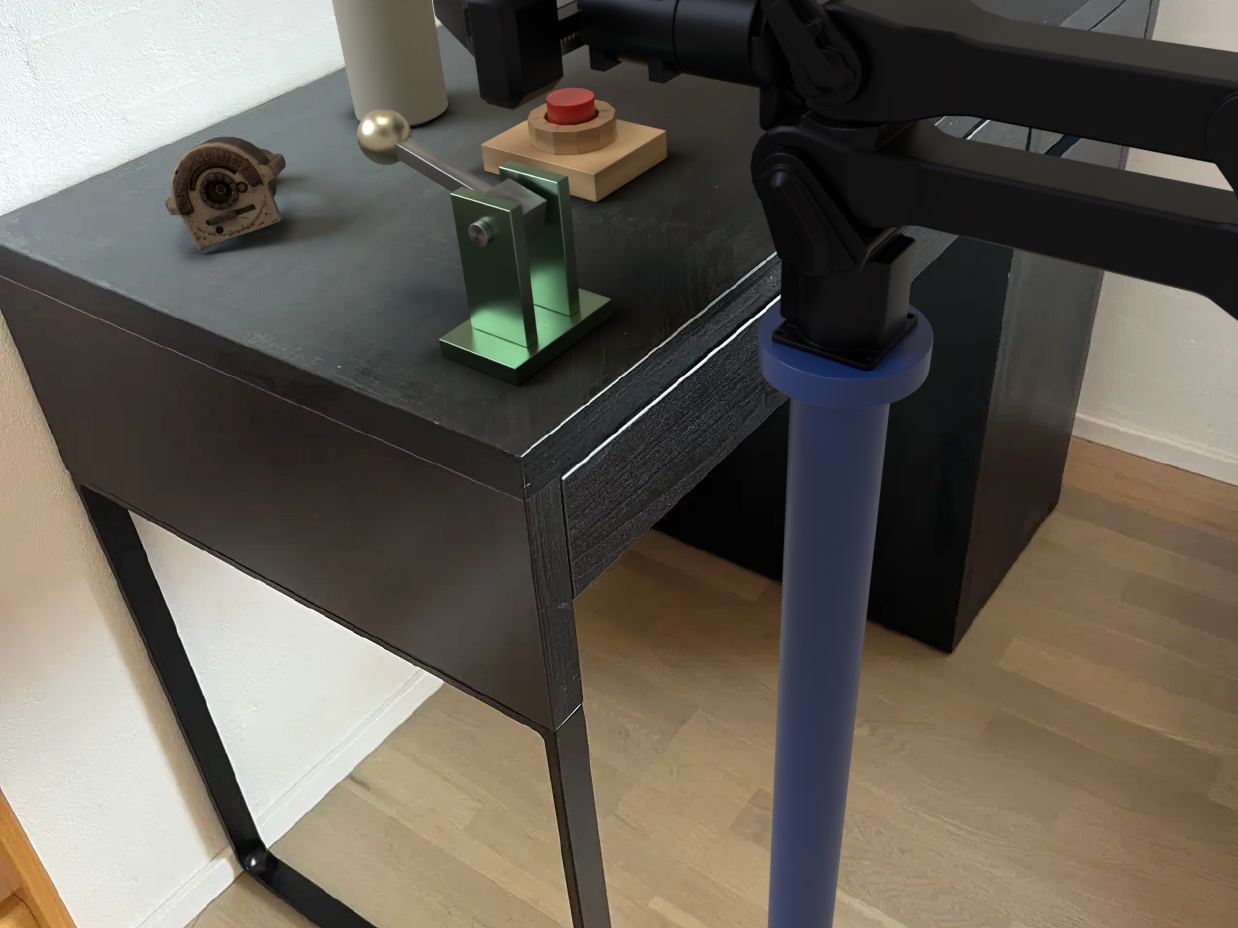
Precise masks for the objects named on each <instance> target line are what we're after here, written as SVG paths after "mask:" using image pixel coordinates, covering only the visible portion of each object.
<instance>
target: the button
mask: <svg viewBox="0 0 1238 928" xmlns="http://www.w3.org/2000/svg"><path fill="white" fill-rule="evenodd" d="M594 99H595V94H594V92H593V91H592V90H590V89H587V88H583V87H566V88H560V89H557V90H554V91H552V92H550V93H548V94H547V95H546V97H545V103H546V104H547V114H548V122H549V123H552V124H556V125H578V124H583V123H587V122H590V121H592V120H593V119H595V118H596V114H595V100H596V99H595V100H594Z"/></svg>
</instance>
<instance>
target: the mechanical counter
mask: <svg viewBox="0 0 1238 928" xmlns="http://www.w3.org/2000/svg"><path fill="white" fill-rule="evenodd" d="M286 164H287V163H286V159H285V157H284V155H283V154H282V153H274V152H271V151H270V150H268V149H265V148H262V147H261V148H260V147H258V146H256V145H255V144H253V143H252V142H250V141H247V140H245V139H243V138H240V137H237V136H216V137H212V138H210V139H207V140H205V141H204V142H202V143H199V144H197V145H194V146H193V147H192V148H190V149H189V150H187V151H186V152H185V153H184V154H182V156H180V158H179V159H178V160H177V162H176V165H175V166H174V168H173V171H172V174H171V179H170V193H171V196H170V197H168V198H167V199H166V200H165V202H164V203H165V208H166V210H167V211H168V213H169V214H170V216H179V217H180V218H181V219H182V221H183V223H184V225H185V227H186V229H187V231H188V233H189V234H190V236H191V239H192V242H194V246H195V247H196V248H197V250H198V251H199V252H200V251H203V250H205V249H208V248H210V247H213V246H216V245H219V244H221V243H224V242H226V241H229V240H231V239H234V238H238V237H240V236H243V235H247V234H249V233H252V232H255V231H259V230H261V229H264V228H267V227H269V226H272V225H275V224H276V223H279V222H282V221H283V217H282V214H281V212H280V210H279V205H278V203H277V202H276V199H275V197H276V193H277V187H278V186H277V178H278V177H279V175H280V174H281V172H282V171H283V170H285V168H286V167H287V165H286Z"/></svg>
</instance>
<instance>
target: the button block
mask: <svg viewBox="0 0 1238 928" xmlns="http://www.w3.org/2000/svg"><path fill="white" fill-rule="evenodd" d="M594 100H595V114H596V118H595V119H593V120H592V121H590V122H587V123H583V124H578V125H556V124H552V123H549V122H548V114H547V104H546V102H545V103H544V104H541V105H539V106H538V107H536V108H534V109H532V110H531V111H530V113H529V114H528V117H527V119H526V120H524V121H522V122H521V123H518V124H516V125H515V126H513V127H511V128H509V129H507V130H505V131H503V132H502V133H500V134H498V135H496V136H494V137H492V138H490V139H488V140H486V141H485V142H483V143H481V145H480V146H481V147H480V148H481V154H482V161H483V169H484V172H487V173H490V174H494V175H498V176H500V174H499V166H501V165H502V164H504V163H506V162H508V161H513V162H517V163H520V164H524V165H528V166H531V167H535V168H539V169H543V170H546V171H550V172H554V173H557V174H561V175H565V176H568V179H569V190H570V196H573V197H576V198H581V199H584V200H587V201H590V202H594V203H598V202H599V201H601V200H602V199H604V198H605V197H607V196H609V195H610V194H612V193H613V192H615V191H617V190H618V189H621V187H623V186H624V185H626V184H627V183H629V182H631V181H632V180H634V179H635V178H638V177H639V176H640V175H642V174H643V173H645V172H646V171H648V170H650V169H651V168H653V167H654V166H656V165H658V164H659V163H661V162H662V161H664V160H665V159H667V158H668V149H667V147H668V146H667V144H668V143H667V130H664V129H660V128H657V127H651V126H648V125H644V124H639V123H635V122H630V121H626V120H622V119H617V111H616V108H614V107H613V106H612V105H611V104H610V103H608V102H607V101H603V100H598V99H595V98H594Z"/></svg>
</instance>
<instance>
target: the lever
mask: <svg viewBox="0 0 1238 928" xmlns="http://www.w3.org/2000/svg"><path fill="white" fill-rule="evenodd" d="M356 139H357V143H358V147H359V149H360V151H361V152H362V154H363V155H364V156H365V158H367V159H369V160H370V161H371V162H373V163H375V164H377V165H380V166H381V165H382V166H391V165H396V164H398V163H400V162H401V163H403V164H405V165H407V166H408V167H409V168H412V169H413V170H414V171H416V172H418V173H419V174H422V175H423V176H425V177H426V178H428V179H429V180H431V181H433V182H435V183H437V185H439V186H441V187H443V188H444V189H446V190H448V191H449V192H450V193H452V192H454V191H455V190H457V189H459V188H461V187H465V188H468V189H472V190H475V191H478V192H482V193H485V194H489V195H492V196H495V197H499V198H502V199H506V200H509V201H513V202H516V203H519V204H522V210H523V219H524V227H525V235H526V244H527V245H528V244H529V243H531V242H532V241H534V240H535V239H537V238H539V237H540V236H542V235H543V227H544V219H545V211H546V203H547V200H545V199H544V198H542V197H540V196H539V195H537V194H535V193H533V192H532V191H530V190H528V189H527V188H525V187H523V186H522V185H520V184H518V183H516V182H515V181H513V180H511V179H510V178H509V179H507V180H505V181H503V182H502V183H501V182H499V183H498V184H496V185H494V186H492V185H491V184H489V183H487V182H486V181H483V180H482V179H480V178H478V177H477V176H475V175H473V174H472V173H470V172H469V171H467V170H466V169H463V168H462V167H460V166H458V165H457V164H455V163H454V162H451V161H450V160H448V159H447V158H445V157H443V156H442V155H440V154H438V153H437V152H435V151H434V150H432V149H430V148H428V147H426V146H425V145H423V144H422V143H420V142H418V141H417V140H415V139H413V131H412V128H411V126H410V125H409V124H408V122H407V121H406V119H405V118H404V117H403V116H402V115H400V114H399V113H397V112H396V111H393V110H390V109H377V110H374V111H372V112H370V113H368V114H367V115H366V116H365V117H364V118H363V119H362V121H359V125H358V127H357V134H356Z"/></svg>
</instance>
